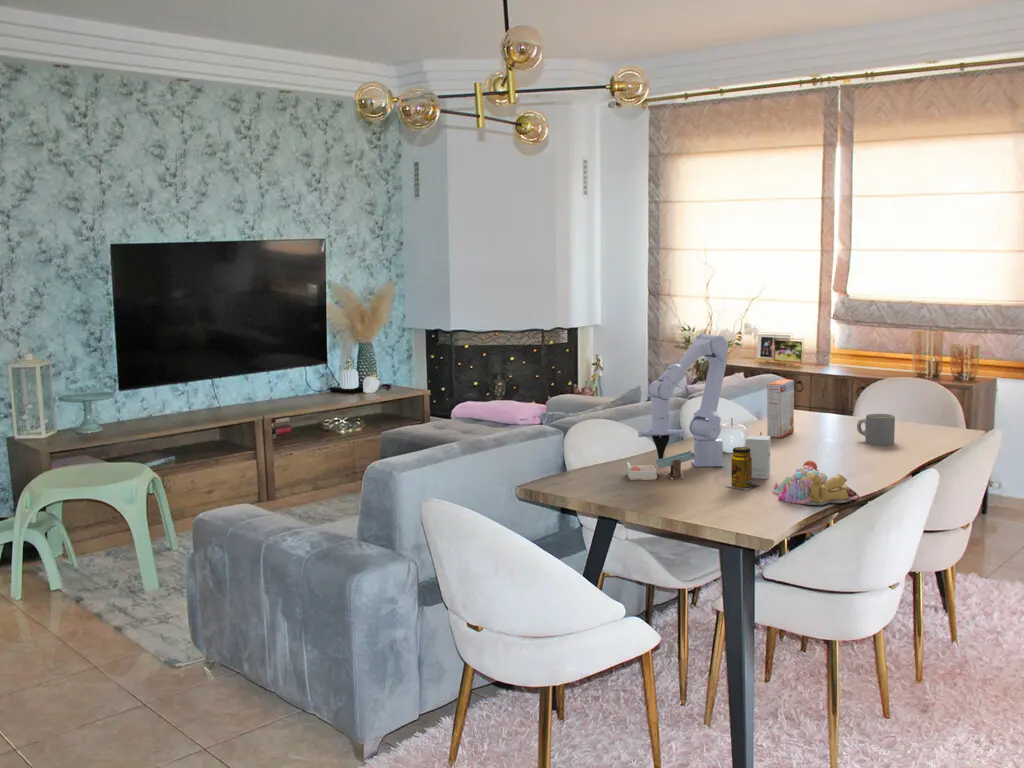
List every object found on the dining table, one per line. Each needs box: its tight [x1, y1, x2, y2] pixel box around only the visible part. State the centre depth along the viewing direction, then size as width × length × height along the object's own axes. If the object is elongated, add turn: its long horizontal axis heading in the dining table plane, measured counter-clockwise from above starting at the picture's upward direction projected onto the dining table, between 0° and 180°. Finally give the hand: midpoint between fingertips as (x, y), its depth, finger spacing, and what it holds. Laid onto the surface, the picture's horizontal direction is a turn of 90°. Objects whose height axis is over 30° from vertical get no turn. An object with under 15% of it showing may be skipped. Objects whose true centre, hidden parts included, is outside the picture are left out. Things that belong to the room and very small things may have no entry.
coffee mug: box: [856, 413, 896, 446], centre depth 366 cm, size 13×10×10 cm
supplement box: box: [744, 435, 772, 480], centre depth 317 cm, size 7×7×13 cm
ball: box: [631, 465, 641, 471], centre depth 320 cm, size 3×3×3 cm
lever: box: [654, 449, 695, 470], centre depth 322 cm, size 12×12×2 cm
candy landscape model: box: [772, 460, 860, 506], centre depth 291 cm, size 25×24×9 cm
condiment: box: [726, 446, 762, 491], centre depth 304 cm, size 7×8×12 cm
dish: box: [626, 461, 658, 479], centre depth 320 cm, size 9×9×4 cm
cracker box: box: [766, 378, 795, 439], centre depth 384 cm, size 14×6×21 cm, turn 144°
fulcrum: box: [667, 460, 685, 480], centre depth 319 cm, size 4×8×6 cm, turn 178°
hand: (660, 458), depth 326 cm, fingers closed
